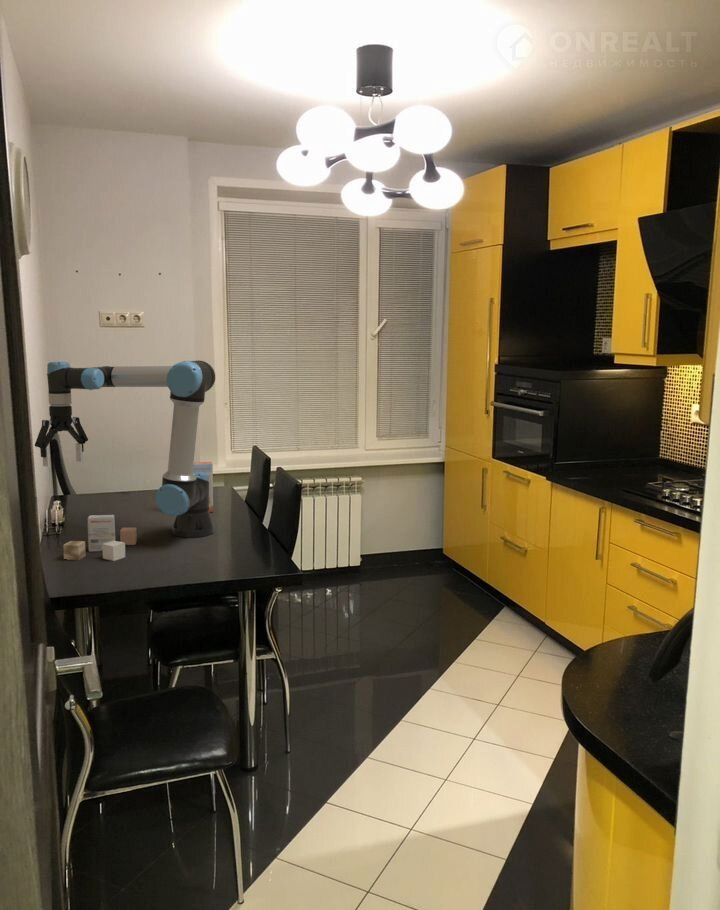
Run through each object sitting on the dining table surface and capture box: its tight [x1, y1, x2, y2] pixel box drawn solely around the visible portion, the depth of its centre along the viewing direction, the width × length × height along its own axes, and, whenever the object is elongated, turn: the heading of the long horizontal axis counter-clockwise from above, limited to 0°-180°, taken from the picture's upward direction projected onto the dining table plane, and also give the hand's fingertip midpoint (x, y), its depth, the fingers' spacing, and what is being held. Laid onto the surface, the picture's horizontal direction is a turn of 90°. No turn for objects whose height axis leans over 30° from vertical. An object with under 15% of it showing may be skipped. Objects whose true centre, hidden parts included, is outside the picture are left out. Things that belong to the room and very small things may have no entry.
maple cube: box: [62, 540, 87, 561], centre depth 241 cm, size 5×5×5 cm
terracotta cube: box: [119, 526, 138, 546], centre depth 260 cm, size 5×5×5 cm
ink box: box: [87, 514, 116, 552], centre depth 251 cm, size 8×5×12 cm, turn 105°
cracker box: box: [193, 461, 214, 513], centre depth 306 cm, size 14×6×21 cm, turn 105°
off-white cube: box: [102, 540, 126, 562], centre depth 242 cm, size 5×5×5 cm
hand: (63, 463), depth 266 cm, fingers open, 13 cm apart
